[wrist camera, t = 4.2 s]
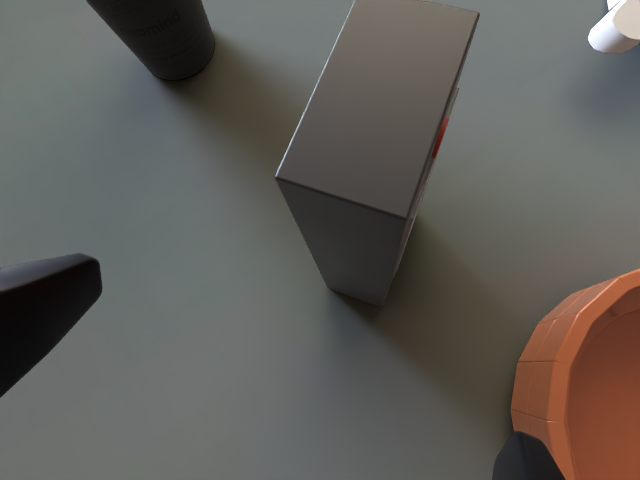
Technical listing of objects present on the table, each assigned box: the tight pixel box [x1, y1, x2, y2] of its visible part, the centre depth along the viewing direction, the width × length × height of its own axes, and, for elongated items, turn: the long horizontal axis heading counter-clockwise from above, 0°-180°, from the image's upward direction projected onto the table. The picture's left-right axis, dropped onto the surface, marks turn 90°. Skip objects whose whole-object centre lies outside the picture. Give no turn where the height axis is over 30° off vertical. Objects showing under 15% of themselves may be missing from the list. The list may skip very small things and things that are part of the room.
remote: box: [275, 0, 480, 308], centre depth 15 cm, size 3×6×13 cm, turn 158°
